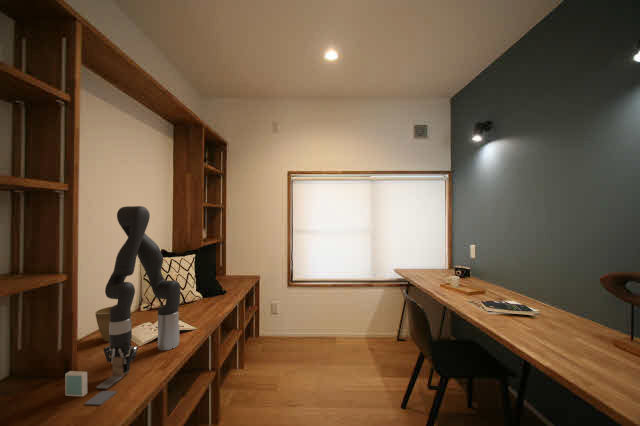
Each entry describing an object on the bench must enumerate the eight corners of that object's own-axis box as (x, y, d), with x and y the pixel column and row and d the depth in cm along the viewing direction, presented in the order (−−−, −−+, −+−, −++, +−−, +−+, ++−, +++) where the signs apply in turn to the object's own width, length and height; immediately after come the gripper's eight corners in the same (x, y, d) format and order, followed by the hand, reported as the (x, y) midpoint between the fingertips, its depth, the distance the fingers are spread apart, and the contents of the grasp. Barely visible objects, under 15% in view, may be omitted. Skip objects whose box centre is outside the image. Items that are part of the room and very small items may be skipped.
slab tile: (70, 392, 102) (70, 371, 102) (87, 393, 101) (87, 371, 101) (65, 395, 100) (64, 374, 100) (82, 396, 99) (82, 374, 99)
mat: (102, 391, 102) (102, 390, 102) (117, 392, 101) (117, 391, 101) (84, 404, 95) (84, 403, 95) (100, 405, 94) (100, 404, 94)
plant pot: (130, 339, 147) (130, 309, 147) (95, 347, 137) (94, 316, 138) (128, 330, 158) (128, 303, 159) (95, 337, 149) (95, 308, 149)
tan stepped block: (120, 371, 114) (120, 352, 114) (129, 371, 114) (129, 352, 114) (96, 388, 103) (96, 367, 103) (107, 388, 103) (106, 367, 103)
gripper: (143, 326, 115) (143, 367, 115) (112, 326, 117) (113, 366, 116) (129, 334, 108) (129, 377, 108) (96, 333, 109) (97, 376, 109)
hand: (121, 371), depth 112 cm, fingers closed on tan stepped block, 4 cm apart
